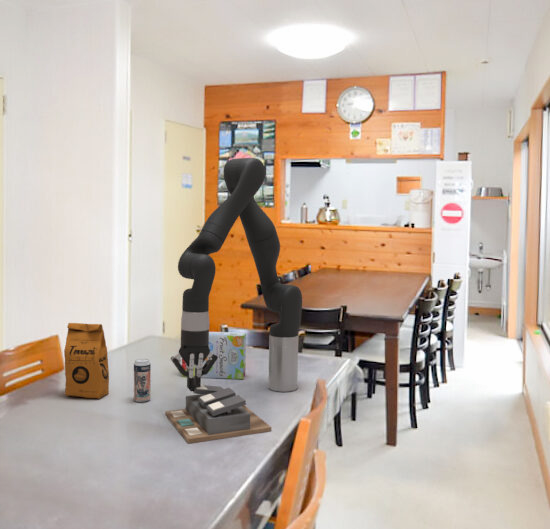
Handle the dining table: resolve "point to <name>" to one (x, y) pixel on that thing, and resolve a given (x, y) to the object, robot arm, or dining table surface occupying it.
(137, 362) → the beer can
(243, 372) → the snack box
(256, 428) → the switch panel
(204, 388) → the rocker
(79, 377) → the coffee package
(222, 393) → the block
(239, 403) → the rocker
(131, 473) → the dining table surface
